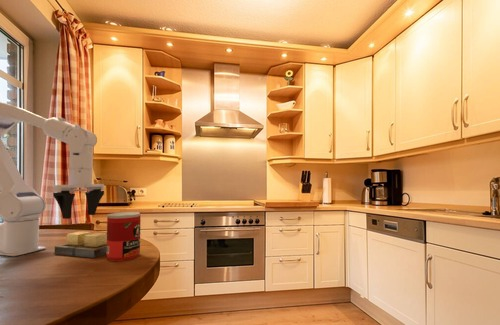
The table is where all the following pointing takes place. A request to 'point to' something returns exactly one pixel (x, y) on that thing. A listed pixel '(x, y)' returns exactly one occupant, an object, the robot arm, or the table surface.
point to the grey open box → (79, 246)
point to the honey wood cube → (95, 240)
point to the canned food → (123, 236)
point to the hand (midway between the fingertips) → (79, 216)
